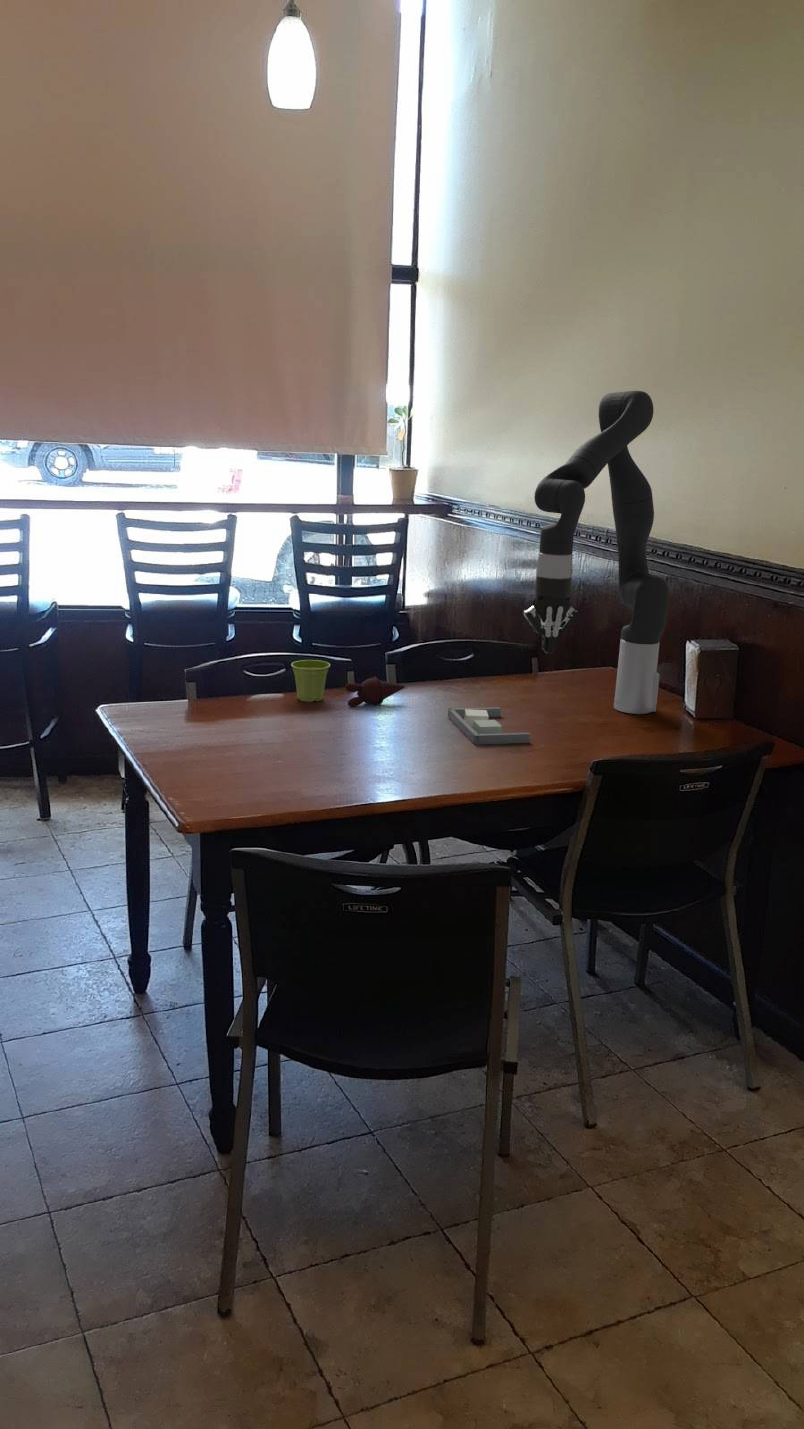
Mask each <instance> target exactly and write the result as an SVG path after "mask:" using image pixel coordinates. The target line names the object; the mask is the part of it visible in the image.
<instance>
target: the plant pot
mask: <svg viewBox="0 0 804 1429" xmlns="http://www.w3.org/2000/svg"><path fill="white" fill-rule="evenodd" d="M290 666H291V668H292V671H293V672H292V673H294V674H293V675H294V680H295V687H296V696H297V699H298V700H299V701H301V702H306V703H312V702H314V701H316V702H320V701H322V700H324V695H325V689H326V688H325V686H326V681H327V674H328V672H329V668H330V667H331V663H330V662H327V661H325V660H324V661H323V660H317V659H303V660H301V659H300V660H297V661H293V662H292V663H291V664H290Z"/></svg>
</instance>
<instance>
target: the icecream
mask: <svg viewBox="0 0 804 1429" xmlns="http://www.w3.org/2000/svg"><path fill="white" fill-rule="evenodd" d="M405 686H406V685H403V684H399V683H393V682H389V681H385V680H384V681H383V680H380V679H379V678H378V677H377V676H374V677H371V678H367V679H366V680H364V681H362V683H361V684H359V683H355V681H352V682H348V683H346V684H345V686H344V688H345V690H346V691H347V692H349V693H352V694H353V693H356V695H357V696H355V697H352V698H350V699H348V701H347V705H348V707H351V708H354V707H357V706H360V705H361V704H363V703H365V704H367V705H370V704H371V705H373V706H377V705H378V706H381V704H383V703H384V700H386V699H387V698H389V697H391V696H393V695H394V694H396V693H398V692H400V691H402V690H404V689H405V688H406V687H405Z"/></svg>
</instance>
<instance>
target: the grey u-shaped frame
mask: <svg viewBox="0 0 804 1429" xmlns="http://www.w3.org/2000/svg"><path fill="white" fill-rule="evenodd" d="M465 709H471V710H487V713H488V716H489V718H500V717H501V716H502V708H501V707H499V706H498V707H497V706H496V707H493V706H492V707H462V708H459V707H458V708H456V707H455V708H454V707H453V708H448V712H447V717H448V719H449V720H450V721H452V723H453V724H454V725H455V726H456V727H457V728H458V729H459V730H460V731H461V732H462V733H463V734H464V735H465V737H467V738H468V739H469V741H471V742H472V744H473V745H477V746H478V745H498V744H499V745H501V744H530V743H531V740H530V739H531V733H530V732H508V733H507V732H506V733H505V732H504V733H500V734H478V733H477V732H476V731H475V730H474V729H473V727H471V726H470V725H469V724H468V723H467V722H466V721H465V720H464V714H465Z"/></svg>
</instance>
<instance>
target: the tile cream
mask: <svg viewBox="0 0 804 1429" xmlns="http://www.w3.org/2000/svg"><path fill="white" fill-rule="evenodd" d="M463 719H464V720H465V721H466V722H467V723H468V724H469V725H470V726H471V727H472V728H473V720H489V719H490V717H489V716H488V713H487V710H471V709H465V714H464V718H463Z"/></svg>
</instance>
